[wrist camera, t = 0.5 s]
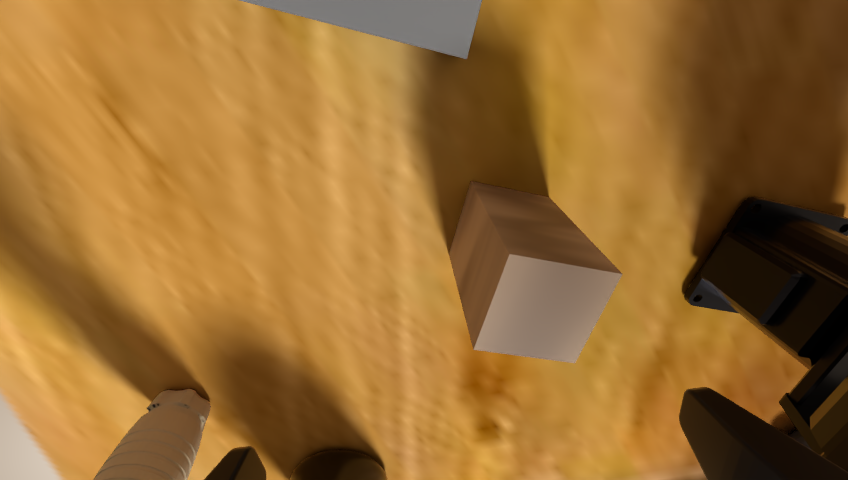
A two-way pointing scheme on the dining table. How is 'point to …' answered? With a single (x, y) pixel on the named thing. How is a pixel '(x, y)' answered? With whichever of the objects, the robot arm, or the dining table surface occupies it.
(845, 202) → the dining table surface
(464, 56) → the grey stepped square base
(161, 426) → the handle
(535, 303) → the beige rectangular prism
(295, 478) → the supplement bottle
